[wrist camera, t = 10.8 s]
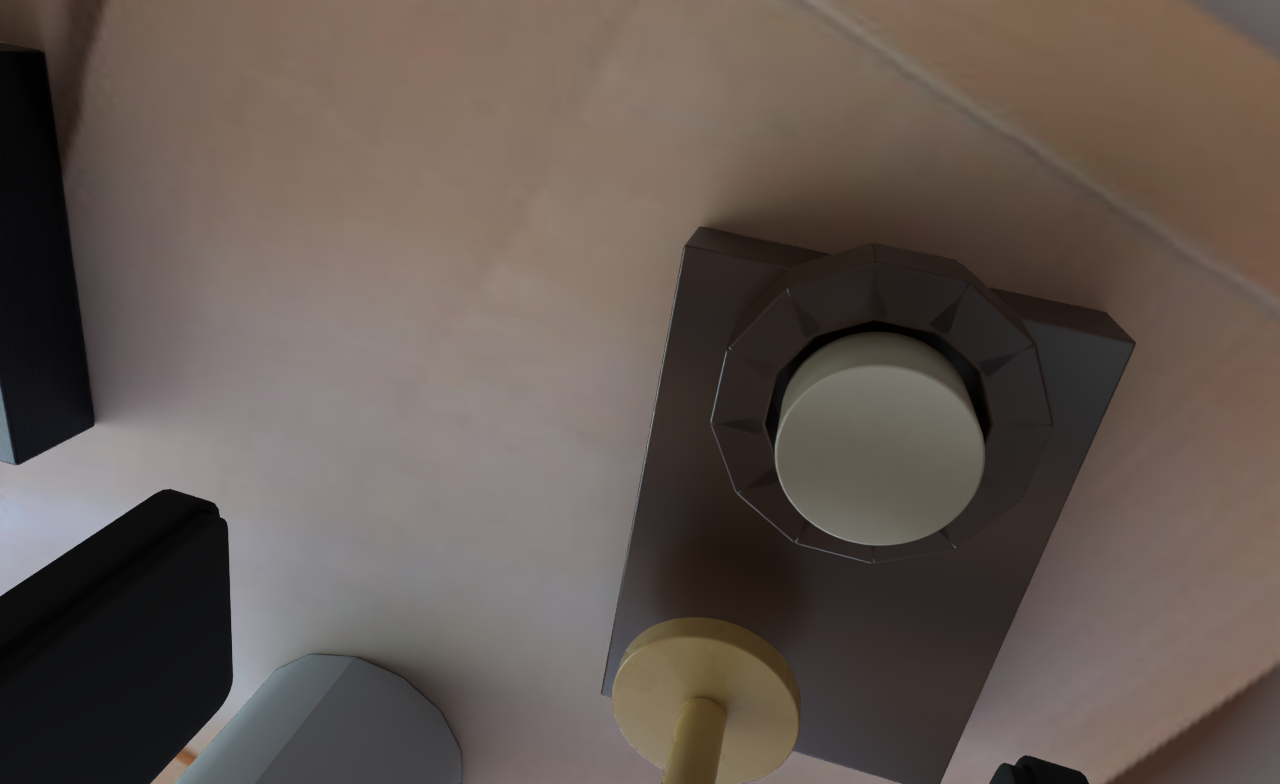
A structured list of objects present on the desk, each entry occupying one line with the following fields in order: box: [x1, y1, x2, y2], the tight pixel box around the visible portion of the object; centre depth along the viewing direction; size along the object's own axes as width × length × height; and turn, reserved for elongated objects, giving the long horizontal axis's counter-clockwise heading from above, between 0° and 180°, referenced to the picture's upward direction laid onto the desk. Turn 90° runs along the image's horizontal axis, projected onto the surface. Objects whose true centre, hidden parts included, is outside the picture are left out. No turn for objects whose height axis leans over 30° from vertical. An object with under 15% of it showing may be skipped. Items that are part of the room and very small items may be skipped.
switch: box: [775, 331, 985, 545], centre depth 17 cm, size 4×4×2 cm
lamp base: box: [601, 227, 1136, 784], centre depth 21 cm, size 15×10×4 cm, turn 171°
